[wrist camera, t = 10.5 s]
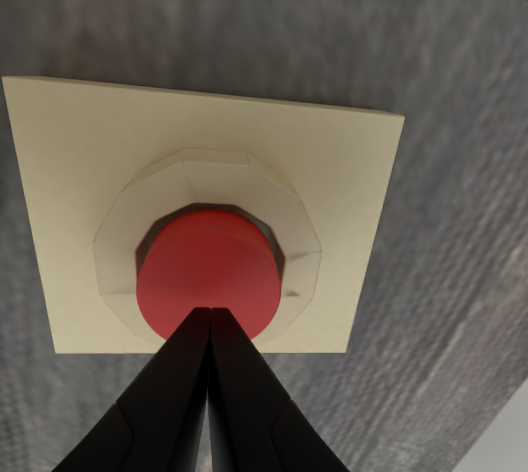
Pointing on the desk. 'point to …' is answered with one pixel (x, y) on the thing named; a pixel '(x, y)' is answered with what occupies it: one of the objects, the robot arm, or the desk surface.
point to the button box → (195, 199)
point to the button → (209, 272)
